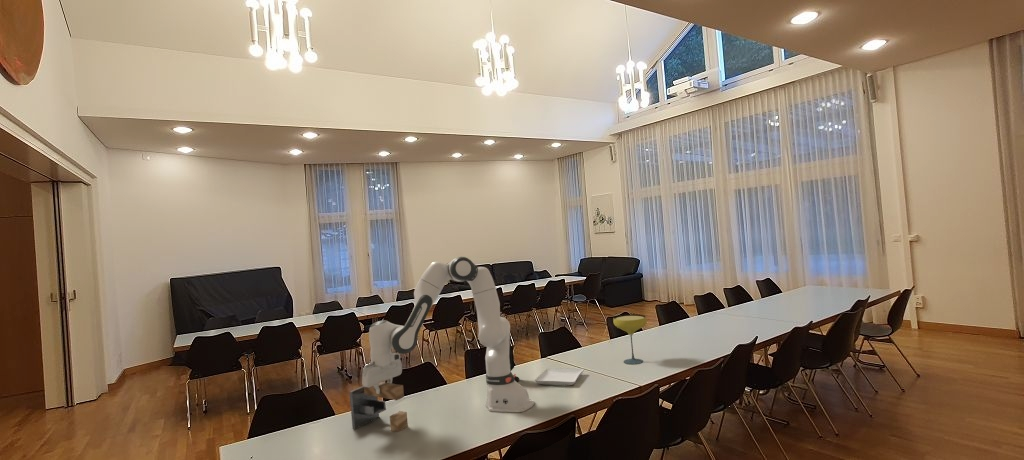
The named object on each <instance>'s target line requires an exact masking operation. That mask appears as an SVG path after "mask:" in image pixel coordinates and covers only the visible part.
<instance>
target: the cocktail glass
mask: <svg viewBox="0 0 1024 460" xmlns="http://www.w3.org/2000/svg"><path fill="white" fill-rule="evenodd" d="M612 321H613V325H614V326H615V328H617V329H619V330H622V331H624V332H626V333H627V334H628V335H629V336H630V343H631V345H630V346H631V358H627V359H624V360H623V363H624V364H626V365H639V364H643V363H644V360H643V359H641V358H636V357H635V355H634V349H633V348H634V346H633V338H632V337H633V336H634V334H635V332H637V331H638V330H640V329H642V328H644V327H645V325H646V324H647V317H646V316H645V315H643V314H636V313H635V314H632V313H631V314H621V315H617V316H614V317H613V319H612Z"/></svg>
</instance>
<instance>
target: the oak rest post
mask: <svg viewBox="0 0 1024 460" xmlns="http://www.w3.org/2000/svg"><path fill="white" fill-rule="evenodd" d="M389 424H390V431H391V432H397V433H398V432H400V431H403V429H406V428H408V426H409V422H408V413H407V411H403V410H399V411H397V412H395V413H393V414H392V415H389Z"/></svg>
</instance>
